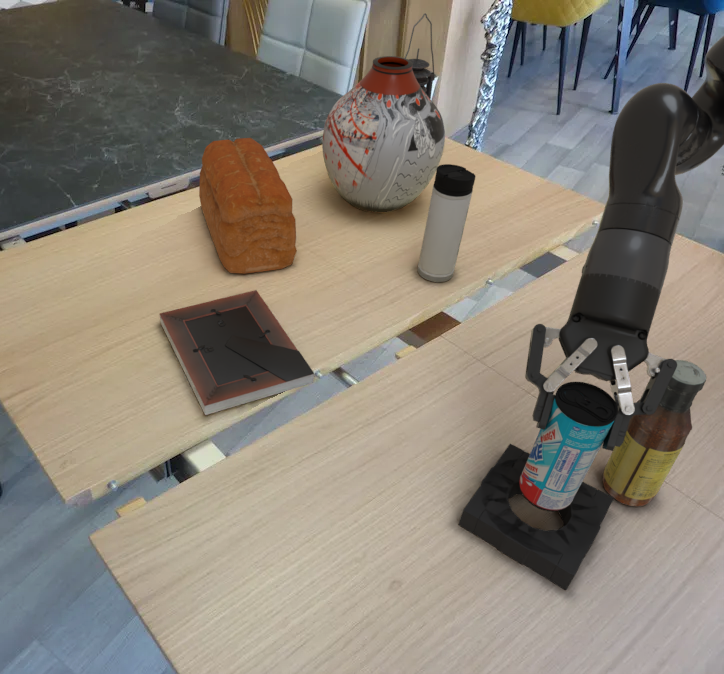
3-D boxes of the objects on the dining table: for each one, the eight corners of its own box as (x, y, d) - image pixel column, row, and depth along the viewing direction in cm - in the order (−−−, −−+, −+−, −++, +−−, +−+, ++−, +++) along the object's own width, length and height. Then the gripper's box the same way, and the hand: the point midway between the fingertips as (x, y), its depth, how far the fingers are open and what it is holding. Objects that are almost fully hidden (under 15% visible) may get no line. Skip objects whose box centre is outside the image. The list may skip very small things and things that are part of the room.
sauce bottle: (659, 487, 83) (733, 372, 70) (642, 518, 80) (716, 403, 67) (607, 459, 87) (669, 344, 74) (588, 488, 83) (649, 373, 70)
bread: (263, 196, 138) (264, 126, 128) (300, 268, 119) (304, 191, 109) (197, 203, 135) (192, 132, 126) (223, 278, 116) (220, 201, 106)
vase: (422, 176, 146) (446, 43, 128) (440, 232, 129) (471, 87, 110) (316, 173, 146) (325, 40, 128) (320, 229, 129) (330, 83, 111)
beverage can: (540, 463, 80) (580, 373, 70) (582, 498, 76) (630, 408, 66) (506, 485, 77) (543, 395, 67) (547, 523, 73) (593, 433, 63)
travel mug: (408, 268, 119) (427, 164, 106) (438, 259, 122) (459, 156, 109) (430, 287, 115) (452, 181, 102) (460, 277, 117) (485, 172, 104)
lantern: (407, 136, 162) (427, 2, 143) (438, 152, 156) (464, 14, 136) (368, 148, 157) (384, 11, 137) (399, 165, 150) (420, 23, 131)
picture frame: (313, 385, 96) (256, 300, 111) (314, 372, 95) (256, 288, 109) (205, 417, 91) (160, 324, 106) (204, 404, 89) (159, 312, 104)
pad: (607, 512, 80) (615, 497, 78) (566, 592, 72) (575, 577, 71) (503, 457, 87) (509, 441, 85) (456, 524, 79) (461, 509, 77)
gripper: (552, 256, 67) (504, 416, 66) (711, 294, 63) (660, 465, 62) (544, 272, 74) (500, 417, 74) (685, 306, 70) (640, 460, 69)
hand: (573, 438), depth 68 cm, fingers closed on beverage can, 6 cm apart
